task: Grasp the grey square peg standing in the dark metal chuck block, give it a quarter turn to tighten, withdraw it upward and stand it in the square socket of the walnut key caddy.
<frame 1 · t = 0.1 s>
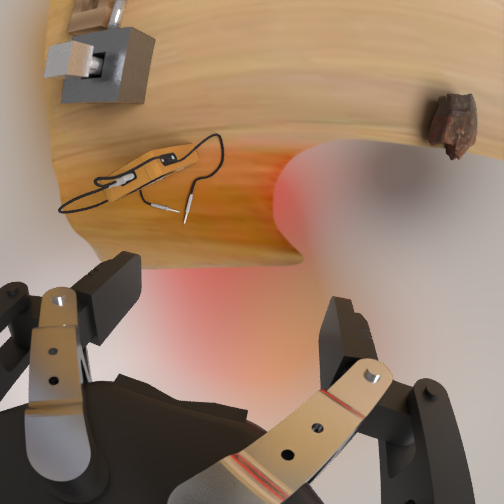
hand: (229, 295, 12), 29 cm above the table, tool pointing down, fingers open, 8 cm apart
grey square peg: (113, 69, 33), point 2 cm above the table, touching chuck
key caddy: (104, 7, 31), on the table
chuck: (120, 71, 35), on the table
multimeter: (186, 185, 41), on the table
rough brown rock chunk: (447, 123, 32), on the table
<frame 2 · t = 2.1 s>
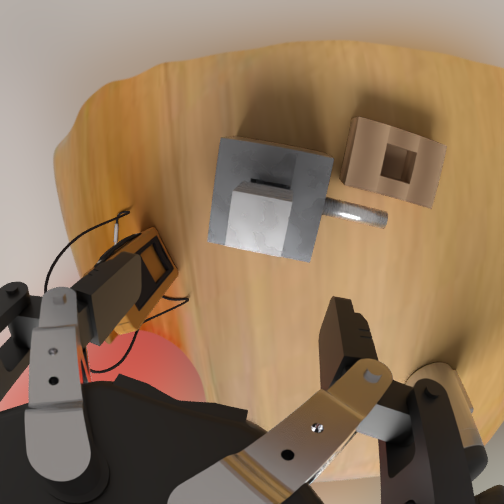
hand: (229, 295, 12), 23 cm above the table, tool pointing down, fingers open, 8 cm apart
grey square peg: (271, 190, 32), point 2 cm above the table, touching chuck
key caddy: (387, 159, 30), on the table
chuck: (273, 187, 33), on the table
multimeter: (140, 261, 40), on the table
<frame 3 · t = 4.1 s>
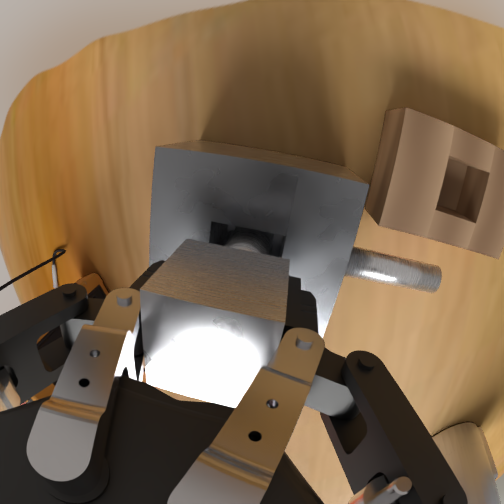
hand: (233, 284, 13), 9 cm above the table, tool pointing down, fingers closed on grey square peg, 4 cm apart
grey square peg: (255, 230, 20), point 2 cm above the table, touching chuck, gripper
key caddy: (437, 179, 18), on the table
chuck: (259, 221, 21), on the table
multimeter: (87, 312, 28), on the table
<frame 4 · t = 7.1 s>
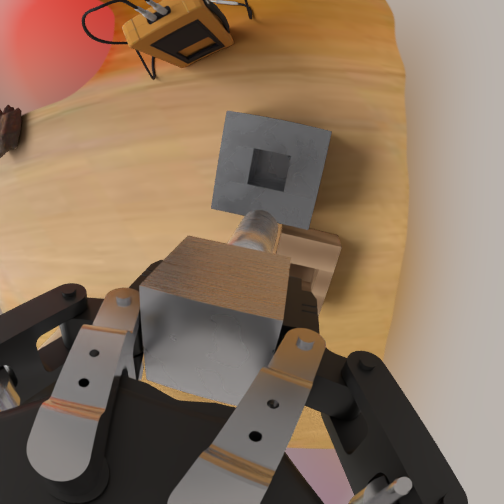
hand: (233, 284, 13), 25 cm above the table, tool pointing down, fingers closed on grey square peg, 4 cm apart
grey square peg: (259, 227, 19), point 18 cm above the table, touching gripper
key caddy: (301, 264, 39), on the table
chuck: (274, 162, 35), on the table
multimeter: (194, 27, 29), on the table
rough brown rock chunk: (15, 130, 38), on the table
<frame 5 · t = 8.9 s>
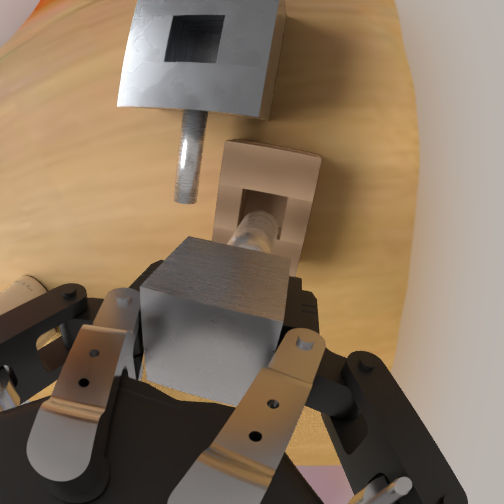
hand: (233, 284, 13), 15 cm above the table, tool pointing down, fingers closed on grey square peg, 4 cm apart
grey square peg: (259, 228, 20), point 7 cm above the table, touching gripper
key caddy: (266, 202, 26), on the table
chuck: (219, 59, 22), on the table
when the fingers open (9 cm above the table, at t = 10.4 s): grey square peg stays where it is, resting on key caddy.
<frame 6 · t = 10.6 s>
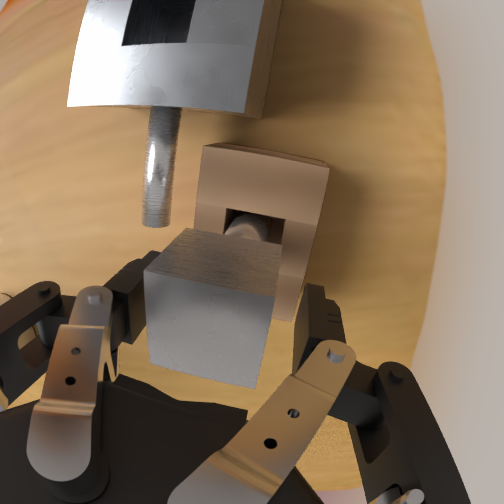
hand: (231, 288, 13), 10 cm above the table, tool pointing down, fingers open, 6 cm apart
grey square peg: (253, 222, 20), point 1 cm above the table, touching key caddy
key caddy: (259, 221, 21), on the table
chuck: (200, 44, 17), on the table
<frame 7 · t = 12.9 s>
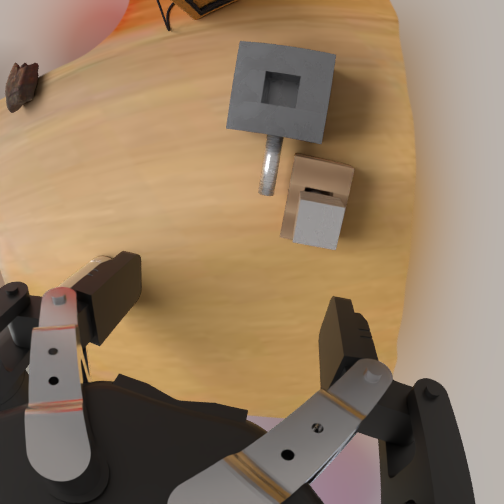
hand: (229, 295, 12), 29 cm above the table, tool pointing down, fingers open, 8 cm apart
grey square peg: (313, 196, 37), point 1 cm above the table, touching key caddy
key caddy: (315, 196, 38), on the table
chuck: (284, 96, 34), on the table
rough brown rock chunk: (30, 86, 37), on the table
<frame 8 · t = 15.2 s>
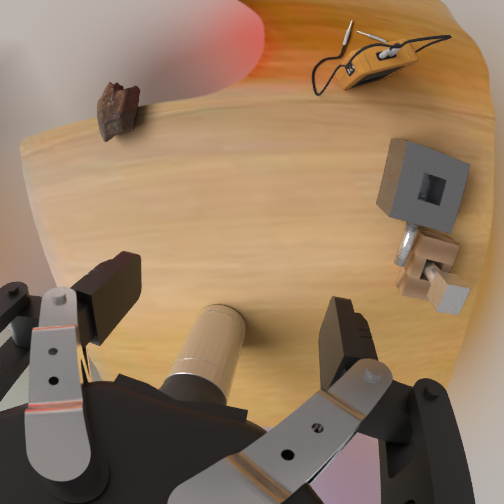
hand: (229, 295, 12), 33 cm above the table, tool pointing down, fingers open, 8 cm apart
grey square peg: (423, 261, 43), point 1 cm above the table, touching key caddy
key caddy: (423, 260, 44), on the table
chuck: (413, 180, 39), on the table
multimeter: (349, 53, 34), on the table
rough brown rock chunk: (124, 111, 42), on the table
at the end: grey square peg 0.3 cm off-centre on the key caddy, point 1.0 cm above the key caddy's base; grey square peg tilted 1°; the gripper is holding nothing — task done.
